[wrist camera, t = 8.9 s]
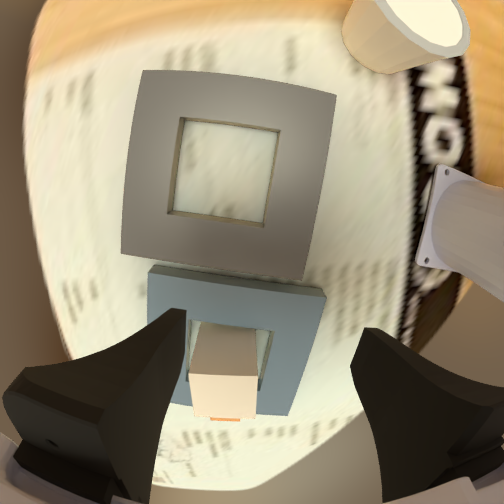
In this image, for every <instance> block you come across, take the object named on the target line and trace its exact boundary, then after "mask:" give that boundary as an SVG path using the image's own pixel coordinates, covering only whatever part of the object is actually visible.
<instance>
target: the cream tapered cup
mask: <svg viewBox="0 0 504 504" xmlns="http://www.w3.org/2000/svg"><path fill="white" fill-rule="evenodd" d="M341 32H342V37H343V42H344V44H345V46H346V47H347V49H348V51H349V52H350V54H351V55H352V56H353V57H354V58H355V59H356V60H357V61H358V62H359V63H361V64H362V65H363V66H364V67H366V68H369V69H371V70H373V71H375V72H377V73H384V74H393V73H396V72H399V71H402V70H406V69H409V68H413V67H416V66H420V65H423V64H427V63H431V62H434V61H438V60H442V59H447V58H451V57H455V56H460V55H463V53H464V52H465V51H466V49H467V48H468V46H469V45H470V28H469V25H468V22H467V19H466V16H465V13H464V11H463V9H462V8H461V6H460V5H459V3H458V2H457V0H354V1H353V3H352V5H351V7H350V9H349V11H348V13H347V15H346V17H345V19H344V22H343V25H342V29H341Z"/></svg>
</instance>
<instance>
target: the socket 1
mask: <svg viewBox="0 0 504 504" xmlns="http://www.w3.org/2000/svg"><path fill="white" fill-rule="evenodd" d="M336 96H337V95H335V94H331V93H327V92H323V91H319V90H315V89H311V88H307V87H302V86H298V85H293V84H288V83H283V82H277V81H272V80H266V79H260V78H253V77H246V76H238V75H230V74H221V73H210V72H196V71H176V70H143V72H142V76H141V81H140V85H139V90H138V95H137V100H136V105H135V110H134V116H133V122H132V128H131V135H130V141H129V149H128V157H127V165H126V174H125V184H124V196H123V210H122V230H121V254H126V255H132V256H138V257H144V258H150V259H157V260H163V261H169V262H176V263H182V264H188V265H195V266H202V267H208V268H215V269H222V270H229V271H236V272H242V273H250V274H257V275H264V276H271V277H278V278H286V279H293V280H301V281H302V278H303V274H304V269H305V265H306V260H307V256H308V252H309V247H310V242H311V238H312V233H313V228H314V223H315V219H316V214H317V209H318V204H319V199H320V193H321V188H322V183H323V177H324V172H325V166H326V160H327V155H328V149H329V143H330V137H331V130H332V124H333V117H334V111H335V104H336ZM185 120H189V121H200V122H209V123H218V124H226V125H234V126H241V127H248V128H254V129H261V130H267V131H272V132H278V136H277V142H276V148H275V154H274V160H273V166H272V172H271V178H270V183H269V189H268V195H267V201H266V207H265V213H264V219H263V223H257V222H251V221H244V220H238V219H231V218H224V217H217V216H210V215H203V214H196V213H188V212H181V211H173V200H174V192H175V183H176V175H177V168H178V161H179V154H180V147H181V140H182V134H183V128H184V122H185Z"/></svg>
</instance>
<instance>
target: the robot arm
mask: <svg viewBox="0 0 504 504" xmlns="http://www.w3.org/2000/svg"><path fill="white" fill-rule="evenodd" d="M445 170H446V171H447V173H446V175H445ZM425 258H427V260H426V261H425V262H424V260H425ZM415 262H416V264H418V265H420V266H425V267H431V268H436V269H442V270H448V271H454V272H459V273H460V274H462V275H464V276H465V277H467V278H468V279H470V280H471V281H473V282H474V283H476V284H478V285H479V286H481V287H482V288H484V289H485V290H486V291H488V292H490V293H491V294H492V295H494V296H495V297H497V298H498V299H500V300H501V301H503V302H504V188H503V187H499V186H494V185H489V184H486V183H484V182H482V181H480V180H478V179H475V178H473V177H471V176H469V175H467V174H465V173H463V172H460V171H458V170H456V169H453V168H451V167H449V166H446V165H444V164H437V166H436V168H435V174H434V179H433V185H432V190H431V195H430V200H429V205H428V210H427V214H426V219H425V223H424V227H423V231H422V235H421V239H420V242H419V246H418V250H417V253H416V257H415ZM186 314H187V310H184V309H177V308H170V309H169V310H167V311H166V312H164V313H163V314H162V315H160V316H159V317H158V318H157V319H155V320H154V321H153V322H151V323H150V324H148V325H147V326H145V327H144V328H143V329H141V330H140V331H138V332H136V333H135V334H133V335H132V336H130V337H128V338H127V339H125V340H123V341H121V342H119V343H117V344H115V345H113V346H111V347H109V348H107V349H105V350H102V351H99V352H97V353H94V354H91V355H88V356H85V357H83V358H79V359H75V360H72V361H68V362H63V363H58V364H52V365H45V366H36V367H25V368H24V369H23V370H22V372H21V373H20V374H19V375H18V376H17V377H16V379H15V380H14V381H13V382H12V383H11V385H10V386H9V387H8V389H7V390H6V391H5V392H4V394H3V397H2V399H3V404H4V408H5V410H6V412H7V414H8V416H9V418H10V419H11V421H12V423H13V425H14V426H15V428H16V429H17V431H18V433H19V434H20V436H21V438H22V439H23V440H22V442H21V444H20V445H19V446H18V445H17V444H16V443H15V442H13V441H12V440H11V439H9V438H8V437H6V436H5V435H3V434H2V433H0V504H149V499H150V491H151V484H152V477H153V471H154V465H155V459H156V454H157V449H158V444H159V439H160V434H161V429H162V425H163V421H164V418H165V415H166V412H167V409H168V406H169V404H170V401H171V398H172V395H173V393H174V390H175V387H176V384H177V381H178V379H179V376H180V373H181V369H182V364H183V360H184V355H185V339H186ZM350 368H351V373H352V377H353V381H354V385H355V388H356V390H357V393H358V396H359V398H360V401H361V403H362V406H363V408H364V410H365V413H366V415H367V418H368V421H369V423H370V425H371V429H372V432H373V436H374V440H375V444H376V449H377V454H378V459H379V465H380V472H381V482H382V499H383V503H382V504H504V450H503V449H502V447H501V445H503V443H504V439H503V438H502V435H503V434H504V387H497V386H492V385H488V384H483V383H480V382H476V381H473V380H470V379H467V378H465V377H462V376H459V375H457V374H454V373H452V372H450V371H448V370H446V369H444V368H442V367H439V366H438V365H436V364H434V363H432V362H431V361H429V360H427V359H425V358H424V357H422V356H421V355H419V354H417V353H416V352H414V351H413V350H411V349H410V348H408V347H407V346H405V345H404V344H402V343H401V342H399V341H398V340H396V339H395V338H393V337H392V336H390V335H389V334H387V333H385V332H384V331H382V330H380V329H378V328H365V327H364V330H363V333H362V336H361V338H360V341H359V344H358V347H357V349H356V352H355V354H354V357H353V360H352V362H351V365H350Z"/></svg>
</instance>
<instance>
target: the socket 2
mask: <svg viewBox="0 0 504 504" xmlns="http://www.w3.org/2000/svg"><path fill="white" fill-rule="evenodd" d="M326 299H327V297H326V296H325V294H324V292H323V290H322V289H320V288H312V287H304V286H296V285H289V284H281V283H273V282H266V281H259V280H251V279H244V278H237V277H230V276H223V275H217V274H210V273H203V272H197V271H190V270H184V269H177V268H171V267H165V266H159V265H154V266H153V267H152V268H151V269H150V271H149V272H148V289H147V325H148V324H150V323H151V322H153V321H154V320H155V319H157V318H158V317H159V316H160V315H162V314H163V313H164V312H166V311H167V310H169V309H170V308H177V309H184V310H187V314H186V339H185V355H184V360H183V364H182V369H181V373H180V376H179V379H178V381H177V384H176V387H175V390H174V393H173V395H172V398H171V401H170V403H175V404H181V405H187V406H193V404H192V397H191V390H190V382H189V375H188V373H189V370H188V365H189V347H190V332H191V320H196V321H202V322H209V323H216V324H223V325H230V326H237V327H245V328H253V329H261V330H270V331H271V332H270V336H269V341H268V345H267V349H266V353H265V358H264V362H263V366H262V370H261V374H260V378H259V379H258V384H257V400H256V414H262V415H280V416H288V413H289V411H290V408H291V406H292V403H293V400H294V397H295V395H296V392H297V389H298V386H299V384H300V381H301V378H302V375H303V372H304V369H305V366H306V363H307V361H308V357H309V354H310V351H311V348H312V345H313V342H314V339H315V336H316V333H317V329H318V326H319V323H320V319H321V316H322V313H323V309H324V306H325V302H326Z"/></svg>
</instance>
